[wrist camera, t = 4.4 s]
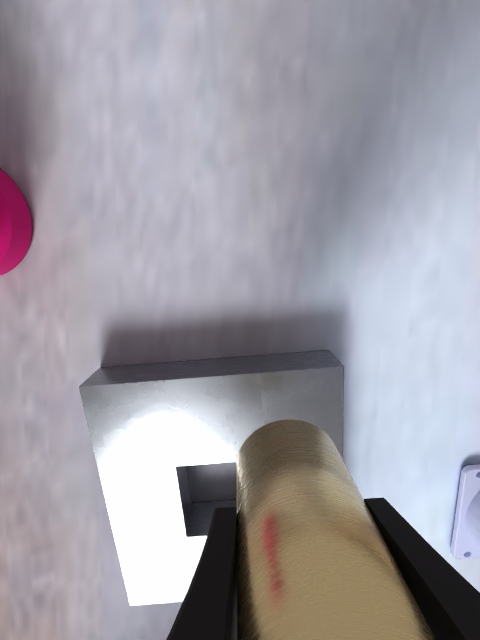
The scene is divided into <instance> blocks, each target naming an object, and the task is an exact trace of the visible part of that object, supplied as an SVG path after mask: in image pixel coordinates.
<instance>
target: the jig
mask: <svg viewBox="0 0 480 640" xmlns="http://www.w3.org/2000/svg"><path fill="white" fill-rule="evenodd" d="M79 389H80V394H81V398H82V402H83V407H84V411H85V415H86V419H87V424H88V428H89V432H90V437H91V441H92V445H93V449H94V454H95V458H96V462H97V466H98V471H99V475H100V479H101V484H102V488H103V492H104V496H105V501H106V505H107V509H108V514H109V518H110V522H111V526H112V531H113V535H114V539H115V543H116V548H117V552H118V556H119V561H120V565H121V569H122V573H123V578H124V582H125V586H126V591H127V595H128V599H129V603H130V606H135V605H148V604H161V603H174V602H183V601H184V598H185V596H186V594H187V591H188V589H189V586H190V584H191V581H192V578H193V575H194V573H195V570H196V567H197V565H198V562H199V559H200V557H201V554H202V551H203V548H204V545H205V542H206V538H207V535H208V532H209V528H210V524H211V520H212V516H213V511H214V510H215V509H216V508H225V507H236V514H237V500H236V499H233V500H220V501H207V502H194V503H192V499H191V492H190V485H189V478H188V471H187V466H190V465H203V464H216V463H229V462H237V456H238V453H239V450H240V448H241V446H242V445H243V443H244V441H245V440H246V439H247V438H248V437H249V436H250V435H251V434H252V433H253V432H254V431H256V430H257V429H258V428H260V427H262V426H264V425H266V424H269V423H271V422H275V421H279V420H289V419H293V420H301V421H306V422H308V423H311V424H313V425H315V426H317V427H319V428H320V429H322V430H323V431H324V432H325V433H327V434H328V436H329V437H330V438H331V439H332V441H333V442H334V444H335V446H336V448H337V450H338V452H339V454H340V456H341V458H342V454H343V389H344V366H343V365H342V364H341V363H340V362H339V361H338V359H337V358H336V357H335V356H334V355H333V354H332V353H331V352H330V351H329V350H322V351H309V352H296V353H283V354H270V355H257V356H244V357H231V358H218V359H205V360H192V361H179V362H166V363H153V364H140V365H127V366H114V367H101V368H99V369H98V370H97V371H96V372H95V373H94V374H92V375H91V376H90V377H89V378H88V379H87V380H86V381H85V382H84V383H83V384H81V385H80V386H79Z"/></svg>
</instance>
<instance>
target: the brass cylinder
mask: <svg viewBox="0 0 480 640" xmlns="http://www.w3.org/2000/svg"><path fill="white" fill-rule="evenodd" d="M236 500H237V640H436V639H435V637H434V635H433V634H432V632H431V630H430V628H429V626H428V624H427V622H426V620H425V618H424V616H423V614H422V612H421V610H420V608H419V606H418V605H417V603H416V601H415V599H414V597H413V595H412V593H411V591H410V589H409V587H408V585H407V583H406V581H405V579H404V578H403V576H402V574H401V572H400V570H399V568H398V566H397V564H396V562H395V560H394V558H393V556H392V554H391V552H390V550H389V549H388V547H387V545H386V543H385V541H384V539H383V537H382V535H381V533H380V531H379V529H378V527H377V525H376V523H375V521H374V520H373V518H372V516H371V514H370V512H369V510H368V508H367V506H366V504H365V502H364V500H363V498H362V496H361V494H360V492H359V491H358V489H357V487H356V485H355V483H354V481H353V479H352V477H351V475H350V473H349V471H348V469H347V467H346V465H345V463H344V462H343V460H342V458H341V456H340V454H339V452H338V450H337V448H336V446H335V444H334V442H333V441H332V439H331V438H330V437H329V436H328V434H327V433H325V432H324V431H323V430H322V429H320V428H319V427H317V426H315V425H313V424H311V423H308V422H306V421H301V420H293V419H289V420H279V421H275V422H271V423H269V424H266V425H264V426H262V427H260V428H258V429H257V430H256V431H254V432H253V433H252V434H251V435H250V436H249V437H248V438H247V439H246V440H245V441H244V443H243V445H242V446H241V448H240V450H239V453H238V456H237V462H236Z"/></svg>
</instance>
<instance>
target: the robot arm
mask: <svg viewBox="0 0 480 640" xmlns="http://www.w3.org/2000/svg"><path fill="white" fill-rule="evenodd" d="M364 502H365V504H366V506H367V508H368V510H369V512H370V514H371V516H372V518H373V520H374V521H375V523H376V525H377V527H378V529H379V531H380V533H381V535H382V537H383V539H384V541H385V543H386V545H387V547H388V549H389V550H390V552H391V554H392V556H393V558H394V560H395V562H396V564H397V566H398V568H399V570H400V572H401V574H402V576H403V578H404V579H405V581H406V583H407V585H408V587H409V589H410V591H411V593H412V595H413V597H414V599H415V601H416V603H417V605H418V606H419V608H420V610H421V612H422V614H423V616H424V618H425V620H426V622H427V624H428V626H429V628H430V630H431V632H432V634H433V635H434V637H435V639H436V640H480V593H479V592H478V591H477V590H476V589H475V588H474V587H473V586H472V585H471V584H470V583H469V582H468V581H467V580H466V579H464V578H463V577H462V576H461V575H460V574H459V573H458V572H457V571H456V570H455V569H454V568H453V567H452V566H451V565H450V564H449V563H448V562H447V561H446V560H445V559H444V558H443V557H442V556H441V555H440V554H439V553H438V552H437V551H435V550H434V549H433V548H432V547H431V546H430V545H429V544H428V543H427V542H426V541H425V540H424V538H423V537H422V536H421V535H420V534H419V533H418V532H417V531H416V530H415V529H414V528H413V527H412V526H411V525H410V524H409V523H408V522H407V521H406V520H405V519H404V518H403V517H402V516H401V515H400V514H399V513H398V512H397V511H396V510H395V509H394V508H393V507H392V506H391V505H390V504H389V503H388V502H387V500H385V499H384V498H371V499H364ZM451 554H452V555H453V557H454V558H455V559H458V560H463V559H476V558H480V464H479V465H468V466H465V467H464V468H463V469H462V471H461V478H460V485H459V492H458V500H457V507H456V514H455V522H454V529H453V536H452V543H451ZM167 640H237V514H236V507H225V508H216V509H215V510H214V511H213V516H212V520H211V524H210V528H209V532H208V535H207V538H206V542H205V545H204V548H203V551H202V554H201V557H200V559H199V562H198V565H197V567H196V570H195V573H194V575H193V578H192V581H191V584H190V586H189V589H188V591H187V594H186V596H185V598H184V601H183V603H182V605H181V608H180V610H179V612H178V615H177V617H176V619H175V622H174V624H173V626H172V629H171V631H170V633H169V635H168V637H167Z"/></svg>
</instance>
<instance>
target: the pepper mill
mask: <svg viewBox="0 0 480 640" xmlns="http://www.w3.org/2000/svg"><path fill="white" fill-rule="evenodd" d="M31 236H32V222H31V215H30V212H29V208H28V205H27V203H26V200H25V198H24V196H23V194H22V193H21V191H20V190H19V188H18V187H17V185H16V184H15V183H14V181H13V180H12V179H11V178H10V177H9V176H8V175H7V174H6V173H5V172H3V171H2V170H1V169H0V275H3V274H5V273H7V272H9V271H10V270H12V269H14V268H15V267H16V266H17V265H18V264H19V263H20V262H21V261H22V259H23V258H24V257H25V255H26V253H27V251H28V248H29V246H30V244H31Z"/></svg>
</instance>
